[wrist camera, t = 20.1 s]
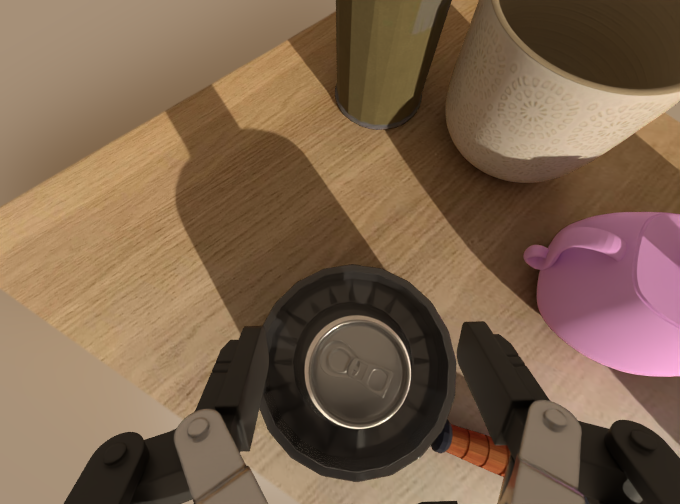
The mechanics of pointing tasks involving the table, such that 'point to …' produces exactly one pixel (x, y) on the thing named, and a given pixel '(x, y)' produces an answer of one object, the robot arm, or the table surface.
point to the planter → (560, 82)
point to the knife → (473, 448)
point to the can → (357, 372)
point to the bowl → (290, 387)
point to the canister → (385, 57)
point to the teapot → (615, 290)
